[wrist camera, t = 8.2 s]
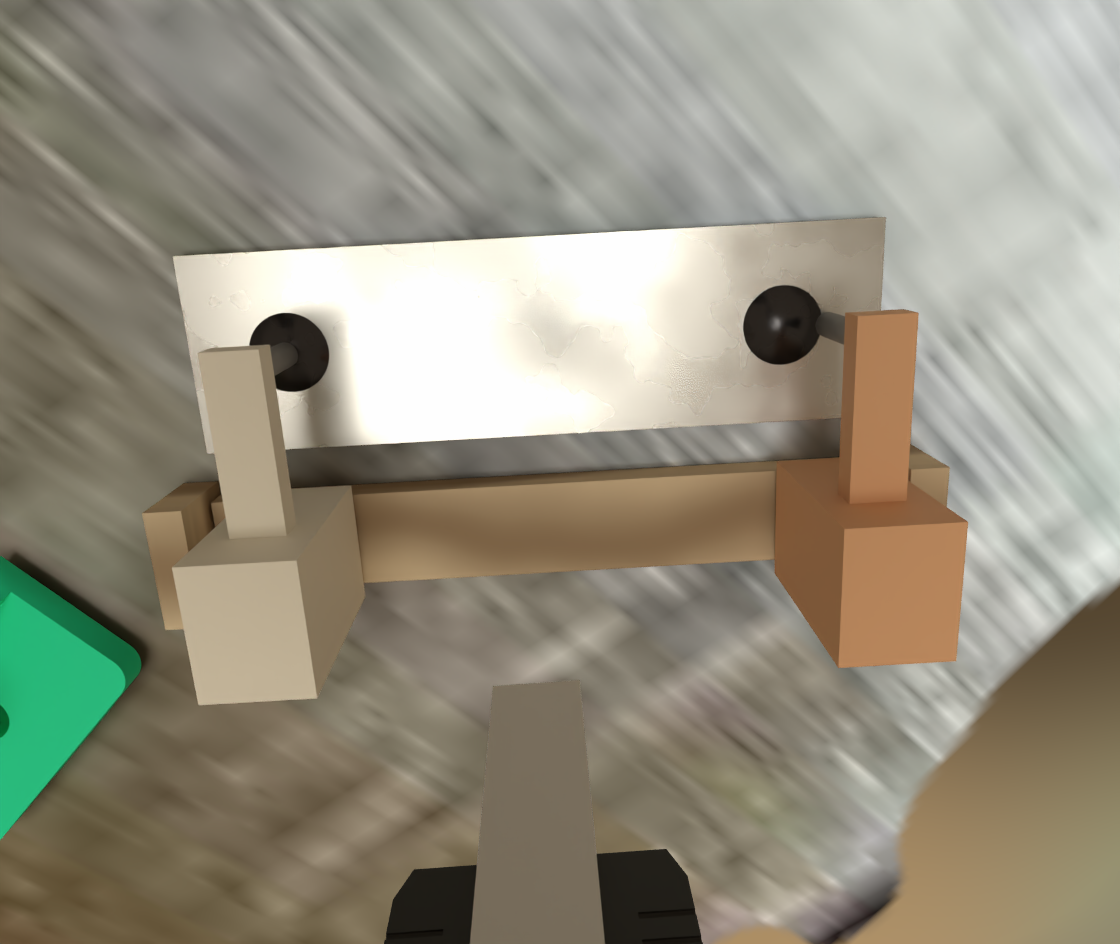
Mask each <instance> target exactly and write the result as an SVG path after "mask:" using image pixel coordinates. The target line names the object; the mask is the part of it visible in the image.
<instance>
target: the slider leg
mask: <svg viewBox="0 0 1120 944" xmlns="http://www.w3.org/2000/svg"><path fill="white" fill-rule="evenodd" d="M918 314H919V313H917V312H913V311H909V310H904V309H901V310H883V311H865V312H847V313H845V316H842V315H839V314H836V313H832V312H826V313H823V314H821V315H820V316H819V317H818V319H817V321H816V325H815V327H816V331H817V333H818V334H819V335H821V336H823V337H825V338H828V339H830V340H833V341H835V342H838V343H840V344H843V345H844V358H843V382H842V407H841V431H840V456H839V458H827V459H810V460H792V461H777V475H776V527H775V574H776V576H777V577H778V579H779V580H780V582H781V583H782V585H783V586H784V588H785V589H786V591H787V592H788V594H789V595H790V596H791V598H792V599H793V601H794V602H795V604H796V605H797V607H798V608H799V610H800V611H801V613H802V614H803V616H804V617H805V619H806V620H807V622H808V623H809V625H810V626H811V628H812V629H813V631H814V632H815V634H816V635H817V637H818V638H819V640H820V641H821V643H822V644H823V646H824V647H825V649H826V650H827V651H828V653H829V654H830V656H831V657H832V659H833V660H834V662H835V663H836V665H837V666H838V668H845V667H862V666H879V665H896V664H913V663H931V662H948V661H956V656H957V644H958V633H959V621H960V609H961V598H962V586H963V575H964V563H965V552H966V540H967V528H968V522H967V521H966V520H964V519H963V518H961V517H960V516H959V515H957V514H956V513H954V512H953V511H951V510H950V509H948V508H947V507H946V506H944V505H943V504H941V503H940V502H938V501H937V500H936V499H934V498H933V497H931V496H930V495H928V494H927V493H925V492H924V491H923V490H921V489H920V488H918V487H917V486H915V485H914V484H912V483H911V482H910V481H908V469H909V454H910V438H911V423H912V407H913V392H914V376H915V361H916V345H917V329H918Z"/></svg>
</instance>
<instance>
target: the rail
mask: <svg viewBox="0 0 1120 944" xmlns="http://www.w3.org/2000/svg"><path fill="white" fill-rule="evenodd" d="M834 458H839V457H834ZM817 459H827V458H817ZM799 460H810V459H799ZM782 461H792V460H782ZM949 469H950V467H948V466H946V465H945V464H943V463H941V462H940V461H938V460H936V459H935V458H933V457H931V456H929V455H928V454H926V453H924V452H923V451H921V450H919V449H918V448H916V447H914V446H913V445H911V444H910V454H909V469H908V481H910V482H911V483H912V484H914V485H915V486H917V487H918V488H920V489H921V490H923V491H924V492H925V493H927V494H928V495H930V496H931V497H933V498H934V499H936V500H937V501H938V502H940V503H941V504H943V505H944V506H946V507H947V495H948V482H949ZM776 475H777V461H764V462H746V463H729V464H711V465H693V466H676V467H658V468H641V469H623V470H605V471H588V472H570V473H552V474H535V475H517V476H499V477H482V478H464V479H447V480H429V481H411V482H394V483H376V484H358V485H341V486H351V488H352V496H353V503H354V511H355V519H356V527H357V535H358V543H359V551H360V558H361V566H362V574H363V582H364V583H372V582H390V581H407V580H425V579H442V578H459V577H477V576H494V575H512V574H529V573H546V572H564V571H581V570H599V569H616V568H633V567H651V566H668V565H686V564H703V563H720V562H738V561H755V560H773V559H775V527H776ZM323 487H334V486H323ZM306 488H316V487H306ZM291 489H299V488H291ZM142 515H143V520H144V525H145V530H146V535H147V540H148V545H149V550H150V555H151V560H152V565H153V570H154V575H155V580H156V585H157V590H158V595H159V600H160V605H161V610H162V615H163V620H164V625H165V630H176V629H184V628H183V622H182V617H181V612H180V607H179V602H178V597H177V592H176V586H175V581H174V576H173V571H172V567H173V566H174V565H175V564H176V563H177V562H179V561H180V560H181V559H182V558H183V557H184V556H185V555H186V554H187V553H188V552H189V551H190V550H191V549H193V548H194V547H195V546H196V545H197V544H198V543H199V542H200V541H201V540H202V539H203V538H204V537H205V536H207V535H208V534H209V533H210V532H211V531H212V530H213V529H214V528H215V527H216V526H217V525H218V524H219V523H221V522H222V521H223V520H224V519H225V518H226V517H225V511H224V505H223V500H222V494H220V488H219V482H218V481H216V482H198V483H183V484H182V485H181V486H179V487H178V488H177V489H175V490H174V491H172V492H171V493H170V494H168V495H167V496H165V497H164V498H163V499H161V500H160V501H159V502H157V503H156V504H154V505H153V506H152V507H150V508H149V509H147V510H146V511H145V512H143V513H142Z"/></svg>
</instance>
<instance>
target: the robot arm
mask: <svg viewBox="0 0 1120 944" xmlns="http://www.w3.org/2000/svg"><path fill="white" fill-rule="evenodd" d="M384 944H703V942H702V940H701V933H700V929H699V924H698V920H697V916H696V914H695V907H694V903H693V898H692V894H691V889H690V885H689V881H688V876H687V875H686V873H685V872H684V871H683V870H682V868H681V867H680V866H679V865H678V863H677V862H676V861H675V859H674V858H673V857H672V856H671V854H670V853H669V852H668V851H667V849H659V850H645V851H631V852H617V853H604V854H596V844H595V833H594V823H593V812H592V802H591V791H590V781H589V770H588V760H587V749H586V738H585V728H584V717H583V707H582V696H581V686H580V680H571V681H557V682H543V683H529V684H515V685H500V686H493V690H492V701H491V713H490V724H489V735H488V746H487V758H486V769H485V780H484V791H483V803H482V814H481V825H480V836H479V847H478V859H477V865H471V866H457V867H443V868H429V869H415V870H413V872H412V873H411V875H410V876H409V877H408V879H407V880H406V882H405V883H404V885H403V886H402V888H401V889H400V890H399V892H398V893H397V895H396V896H395V898H394V899H393V903H392V908H391V912H390V917H389V922H388V927H387V932H386V940H385V941H384Z"/></svg>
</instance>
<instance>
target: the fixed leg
mask: <svg viewBox="0 0 1120 944" xmlns="http://www.w3.org/2000/svg"><path fill="white" fill-rule="evenodd" d="M197 354H198V360H199V366H200V372H201V378H202V383H203V389H204V395H205V401H206V407H207V412H208V418H209V424H210V430H211V436H212V441H213V447H214V453H215V459H216V465H217V470H218V476H219V482H220V488H221V494H222V500H223V505H224V511H225V517H226V518H225V519H224V520H223V521H222V522H221V523H219V524H218V525H217V526H216V527H215V528H214V529H213V530H212V531H211V532H210V533H209V534H208V535H207V536H205V537H204V538H203V539H202V540H201V541H200V542H199V543H198V544H197V545H196V546H195V547H194V548H193V549H191V550H190V551H189V552H188V553H187V554H186V555H185V556H184V557H183V558H182V559H181V560H180V561H179V562H177V563H176V564H175V565H174V566H173V567H172V571H173V576H174V581H175V586H176V592H177V597H178V602H179V607H180V612H181V617H182V622H183V628H184V633H185V638H186V643H187V648H188V653H189V658H190V664H191V669H192V674H193V679H194V684H195V689H196V694H197V700H198V705H209V704H227V703H244V702H261V701H278V700H295V699H312V698H318V695H319V693H320V691H321V689H322V687H323V685H324V683H325V681H326V679H327V676H328V674H329V672H330V670H331V668H332V666H333V664H334V662H335V659H336V657H337V655H338V653H339V651H340V649H341V647H342V645H343V643H344V640H345V638H346V636H347V634H348V632H349V630H350V628H351V626H352V624H353V621H354V619H355V617H356V615H357V613H358V611H359V609H360V607H361V605H362V602H363V600H364V598H365V590H364V582H363V574H362V566H361V558H360V551H359V543H358V535H357V527H356V519H355V511H354V503H353V496H352V488H351V486H334V487H316V488H299V489H291V485H290V478H289V471H288V465H287V458H286V451H285V444H284V437H283V431H282V424H281V417H280V410H279V404H278V397H277V390H276V383H275V377H274V376H275V375H277V374H279V373H281V372H282V371H284V370H286V369H288V368H289V367H291V366H293V365H294V364H295V363H296V362H297V359H298V353H297V350H296V348H295V347H294V346H293V345H291V344H290V343H286V342H282V343H279V344H277V345H275V346H272V347H270V345H254V346H236V347H218V348H209V349H207V350H204V351H201V352H199V353H197Z"/></svg>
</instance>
